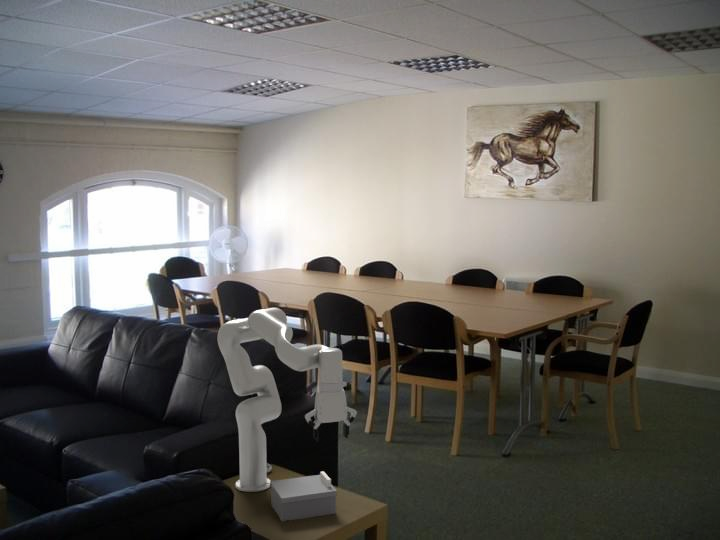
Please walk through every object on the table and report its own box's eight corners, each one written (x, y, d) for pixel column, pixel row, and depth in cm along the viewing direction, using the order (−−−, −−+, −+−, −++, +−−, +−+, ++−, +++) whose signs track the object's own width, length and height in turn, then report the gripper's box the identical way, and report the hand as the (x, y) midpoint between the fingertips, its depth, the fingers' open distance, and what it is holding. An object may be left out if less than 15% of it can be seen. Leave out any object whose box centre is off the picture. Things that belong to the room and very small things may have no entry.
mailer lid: (270, 485, 250) (269, 474, 250) (322, 478, 257) (322, 467, 256) (281, 503, 236) (281, 490, 235) (337, 495, 242) (336, 483, 242)
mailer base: (271, 505, 250) (271, 484, 250) (322, 497, 256) (322, 477, 256) (281, 521, 237) (281, 500, 237) (335, 513, 243) (335, 492, 243)
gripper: (352, 381, 247) (353, 432, 249) (301, 386, 242) (302, 437, 244) (359, 387, 240) (360, 439, 242) (307, 391, 235) (308, 444, 236)
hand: (331, 438), depth 243 cm, fingers open, 9 cm apart
